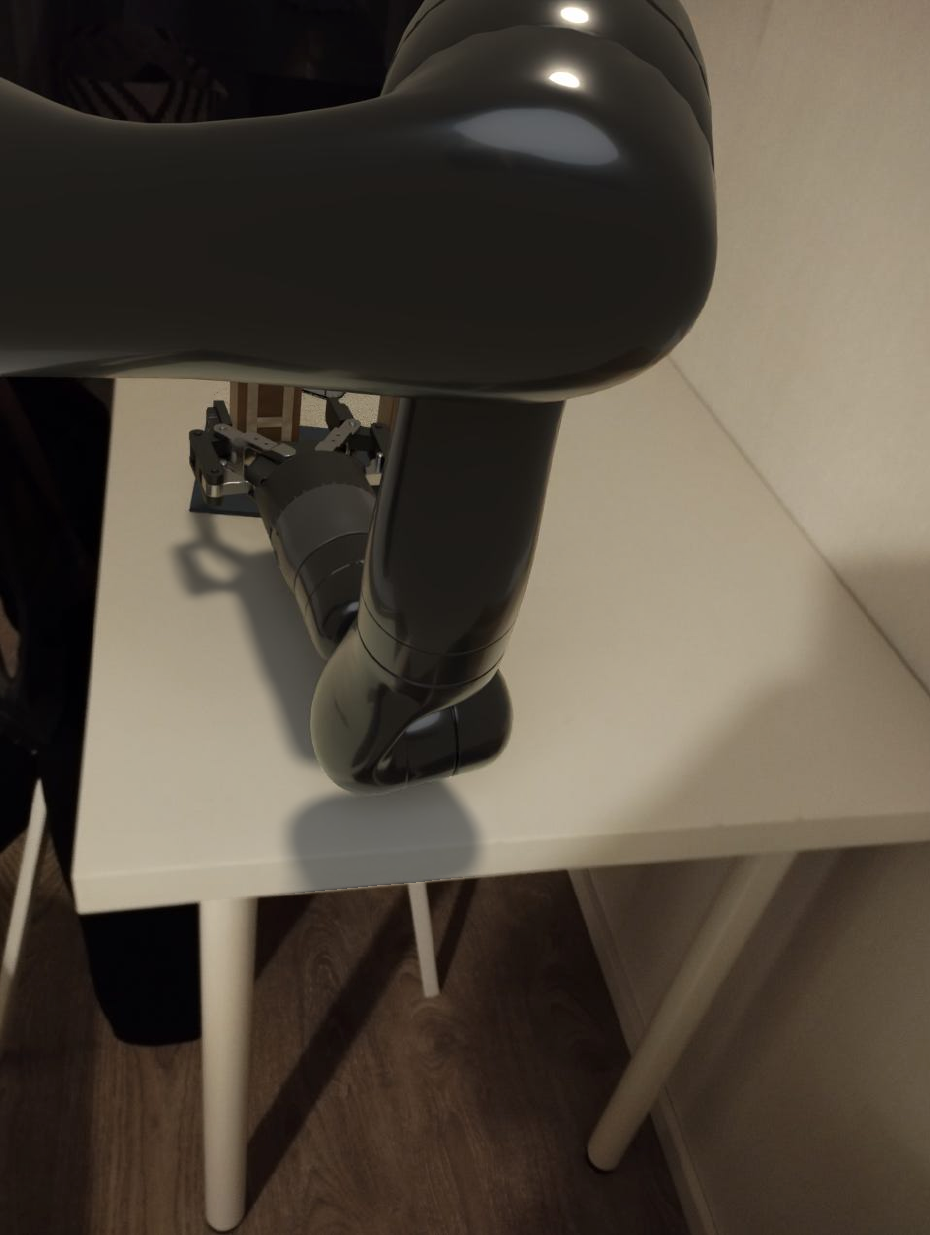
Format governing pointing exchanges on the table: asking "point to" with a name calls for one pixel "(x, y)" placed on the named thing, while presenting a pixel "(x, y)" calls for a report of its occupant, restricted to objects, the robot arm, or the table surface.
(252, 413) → the tile
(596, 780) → the table surface
